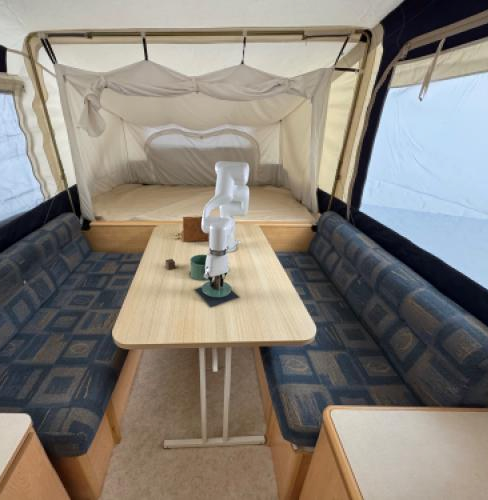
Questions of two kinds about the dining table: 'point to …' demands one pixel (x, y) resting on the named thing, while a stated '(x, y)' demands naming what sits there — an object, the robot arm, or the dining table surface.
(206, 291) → the lid
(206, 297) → the mat
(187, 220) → the game set
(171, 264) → the block
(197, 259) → the canister
